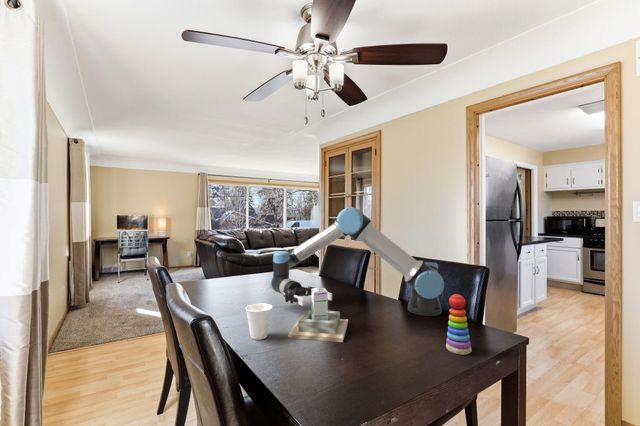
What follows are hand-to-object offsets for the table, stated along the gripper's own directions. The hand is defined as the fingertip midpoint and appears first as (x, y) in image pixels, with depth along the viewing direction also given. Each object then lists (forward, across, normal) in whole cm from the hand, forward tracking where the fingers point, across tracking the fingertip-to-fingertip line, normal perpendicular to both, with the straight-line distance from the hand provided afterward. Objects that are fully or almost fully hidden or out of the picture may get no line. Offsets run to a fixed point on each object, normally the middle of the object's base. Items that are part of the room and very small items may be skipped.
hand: (317, 299), depth 123 cm
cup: (-6, +22, -12) cm, 26 cm away
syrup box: (+1, 0, -10) cm, 11 cm away
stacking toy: (+42, -28, -12) cm, 52 cm away
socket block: (+1, 0, -12) cm, 12 cm away
